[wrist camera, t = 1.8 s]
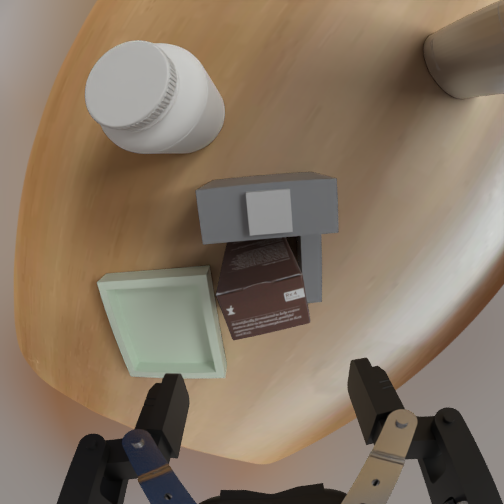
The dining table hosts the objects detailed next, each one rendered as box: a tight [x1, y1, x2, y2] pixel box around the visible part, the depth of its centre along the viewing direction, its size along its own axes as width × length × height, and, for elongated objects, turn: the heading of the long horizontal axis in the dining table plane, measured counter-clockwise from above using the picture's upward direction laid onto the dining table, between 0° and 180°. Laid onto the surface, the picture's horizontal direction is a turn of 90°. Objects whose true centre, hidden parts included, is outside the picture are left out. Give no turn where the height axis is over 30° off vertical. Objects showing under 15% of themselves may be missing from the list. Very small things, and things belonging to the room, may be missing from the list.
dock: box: [196, 172, 338, 303], centre depth 26 cm, size 10×13×10 cm
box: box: [216, 237, 310, 340], centre depth 25 cm, size 6×4×12 cm
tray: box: [97, 265, 227, 378], centre depth 32 cm, size 13×14×3 cm
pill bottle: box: [85, 40, 225, 154], centre depth 19 cm, size 8×8×15 cm
